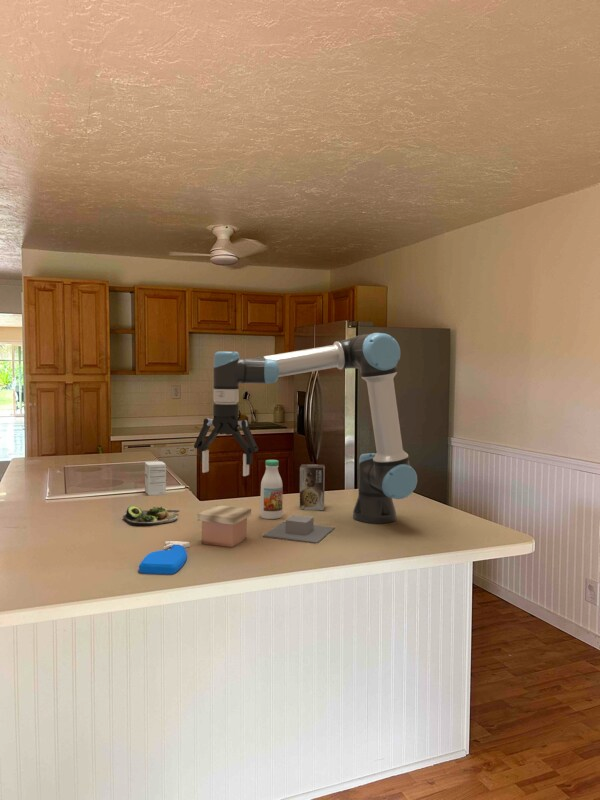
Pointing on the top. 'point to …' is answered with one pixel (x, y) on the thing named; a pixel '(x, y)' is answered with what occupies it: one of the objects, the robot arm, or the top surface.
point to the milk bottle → (271, 492)
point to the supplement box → (155, 478)
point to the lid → (224, 514)
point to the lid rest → (299, 530)
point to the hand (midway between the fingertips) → (225, 473)
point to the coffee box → (312, 487)
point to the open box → (224, 533)
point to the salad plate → (149, 516)
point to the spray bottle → (165, 559)
